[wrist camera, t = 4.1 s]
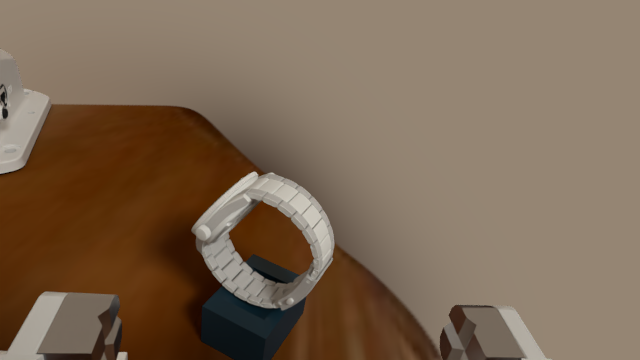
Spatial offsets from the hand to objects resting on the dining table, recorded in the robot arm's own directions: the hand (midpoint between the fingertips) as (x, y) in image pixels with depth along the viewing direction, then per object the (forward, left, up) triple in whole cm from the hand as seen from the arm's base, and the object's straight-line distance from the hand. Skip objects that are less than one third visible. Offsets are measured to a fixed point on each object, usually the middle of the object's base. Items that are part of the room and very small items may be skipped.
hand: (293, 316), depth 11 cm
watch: (-12, 0, -15) cm, 20 cm away
